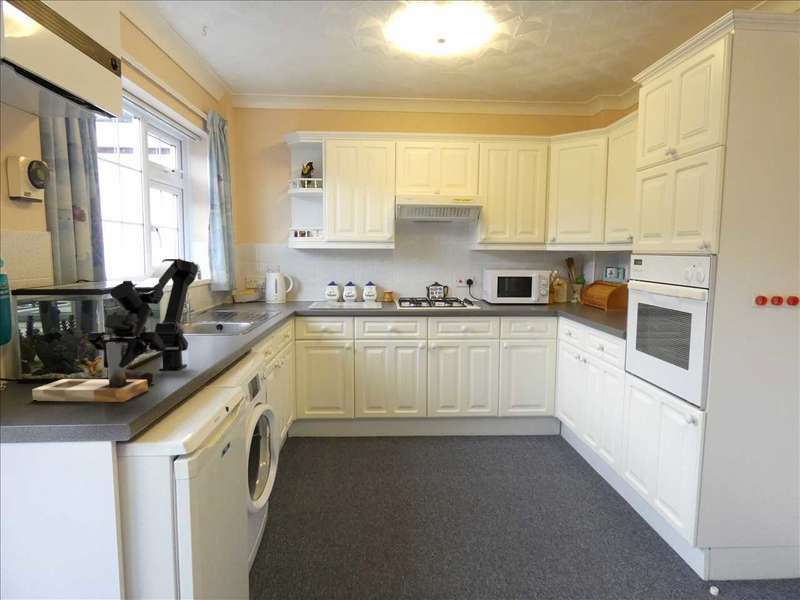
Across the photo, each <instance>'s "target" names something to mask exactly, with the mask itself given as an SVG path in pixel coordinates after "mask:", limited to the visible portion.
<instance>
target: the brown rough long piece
mask: <svg viewBox="0 0 800 600" xmlns="http://www.w3.org/2000/svg"><path fill="white" fill-rule="evenodd" d="M125 369H126V380H147V383H148V386H149V385H151V384H152V383H153V378H154V374H153V373H152V372H149V371H148V372H144V371H140V370H133V369H128V368H125Z"/></svg>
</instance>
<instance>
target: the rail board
mask: <svg viewBox="0 0 800 600" xmlns="http://www.w3.org/2000/svg"><path fill="white" fill-rule="evenodd" d="M126 382H127V386H125V387H122V388H109V378H108V379H104V378H102V379H101V378H86V379H85V378H62V379H59V380H57V381H53V382H51V383H48V384H44V385H42V386H38V387H35V388H33V389H32V390H31V394H32V401H33V400H37V401H38V402H40V401H41V402H44V401H46V402H47V401H49V402H100V403H101V402H108V403H109V402H113V403H114V402H115V403H117V402H118V403H119V402H120V403H121V402H126V401H128V400H130V399H132V397H133V398H135V397H137V396H138V395H141V394H143V393H145V392H147V391H149V385H148V383H147V380H126ZM134 396H135V397H134ZM37 401H36V402H37Z"/></svg>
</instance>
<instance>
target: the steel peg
mask: <svg viewBox="0 0 800 600" xmlns="http://www.w3.org/2000/svg"><path fill="white" fill-rule="evenodd" d="M124 345H125V344H124V342H123V341H115V342H108V343H106V352H107V365H108V368H107V374H108V379H109V388H122V387H125V386H127V382H126V369H127V368H126V366H125V367H124V368H121V367H120V364H121V361H122V359H123V356H124V354H125V346H124Z"/></svg>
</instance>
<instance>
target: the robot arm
mask: <svg viewBox="0 0 800 600" xmlns="http://www.w3.org/2000/svg"><path fill="white" fill-rule="evenodd" d="M198 272H199V267H198V265H197V264H196V263H195V262H194V261H188V260H185V259H181V258H179V257H165V258H163V259H162V261H161V264H160V265H159V266H158V267H157V269H155V271H154V272H153V273H152V274H151V275H150V277H149V278H148V279H146V280H144V281H141V282H139V283H137V284H136V285H134V283H133V282H132V280H123V282H122V283H120V284H117V285H116V286H115V287H113V288H111V290H110V293H109V295H110V296H111V297H112V299H113V300H114V301H115V302H116V304H117V305H118V306H119V308H121V310H123V311H126V312H125V314H106V317H105V321H104V327H105V328H107V329H108V328H109V329H111V331H110V332H111V333H112V334H113V335H115V336H112V335H110V334H107V333H106V332H105V331H91V332H88V334H87V336H86V338H85V341H86V342H87V343H88V344H89V345H90V346H91V347H92V348H93V349H94V350H96V351H103V367H104V368H105V369H108V365H107V352H106V343H108V342H115V341H123V342H124V345H127V347H126V350H125V351H124V356H123V359H122V361H121V364H120V367H121V368H124V367H125V368H126V366H128V364H130V363H132V362H133V361H134V360H135V359H136V358H138V357H139V356H141V355H142V354H144V353H147V352H148V348H149V349H150V350H151V351H155V352H161V359H162V360H161V361H162V362H161V363H162V367H160V368H158V371H178V370H181V369H182V368H185V367H187V366H188V364H186V363H183V351H187V349H188V347H189V342H188V340H187V339H186V338H185V336H184V330H183V328H182V325H181V320H182V317H183V316H182V315H183V313H184V312H183V311H184V307H185V302H186V297H187V293H188V289H189V286H191V285H192V283H193V282H194V281H195V280H196V277H197V274H198ZM170 280H171V281H172V285H171V290H170V294H169V299H168V301H167V307H166V310H165V315H164V319H163V320H162V322H157V323H156V324H155V329H154V331H153V330H151V331H147V328H146V324H147V321H148V319H149V318H152V317H153V318H154V316H155V315H154V311H153V309H152V308H153V307H151V306H150V305H158V304H160V303H161V300H162V299H163V297H164V294H165V293H164V288H165V287H166V285H167V284H168V282H169V281H170Z"/></svg>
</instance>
